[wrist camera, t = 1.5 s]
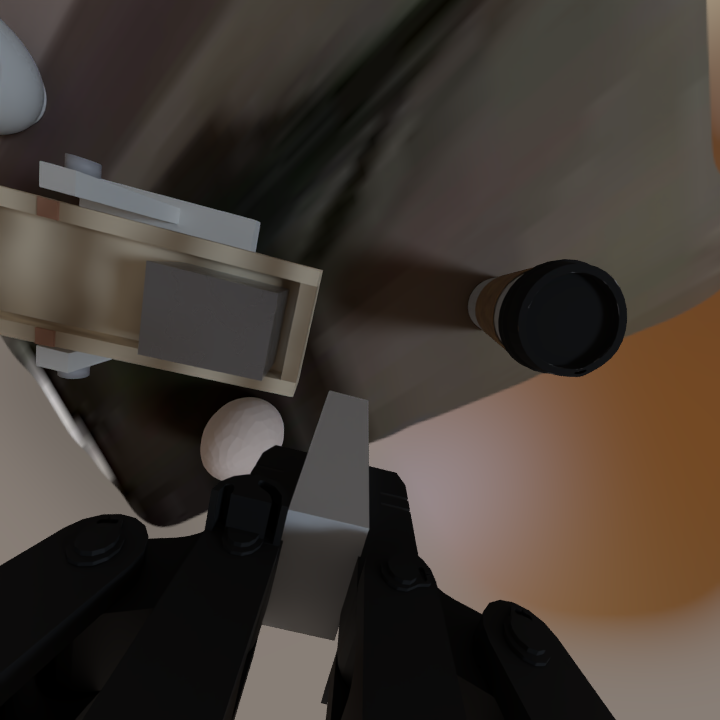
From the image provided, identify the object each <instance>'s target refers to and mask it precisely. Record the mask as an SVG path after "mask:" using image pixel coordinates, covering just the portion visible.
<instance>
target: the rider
mask: <svg viewBox="0 0 720 720" xmlns="http://www.w3.org/2000/svg"><path fill="white" fill-rule="evenodd" d="M289 290H290V289H287V288H283V287H279V286H275V285H271V284H267V283H264V282H260V281H256V280H252V279H248V278H244V277H240V276H236V275H232V274H228V273H224V272H220V271H216V270H212V269H208V268H204V267H200V266H196V265H192V264H188V263H184V262H166V261H146V271H145V282H144V292H143V303H142V313H141V324H140V334H139V345H138V355H143V356H148V357H152V358H157V359H161V360H166V361H171V362H175V363H180V364H185V365H189V366H194V367H199V368H203V369H208V370H212V371H217V372H222V373H226V374H231V375H236V376H240V377H245V378H249V379H254V380H259V381H262V380H263V379H264V377H265V376H266V374H267V373H268V371H269V370H270V368H271V367H272V365H273V364H274V363H275V360H276V355H277V350H278V345H279V340H280V335H281V330H282V325H283V320H284V315H285V310H286V305H287V300H288V295H289Z"/></svg>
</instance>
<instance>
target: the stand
mask: <svg viewBox="0 0 720 720" xmlns="http://www.w3.org/2000/svg"><path fill="white" fill-rule="evenodd" d="M101 168H102V165H100V164H98V163H96V162H93V161H90V160H87V159H84V158H81V157H78V156H75V155H71V154H67V153H65V167H61V166H57V165H54V164H50V163H46V162H42V161H40V169H39V187H42V188H46V189H50V190H53V191H57V192H61V193H64V194H68V195H71V196H75V197H79V198H80V200H79V206H81V207H85V208H88V209H92V210H96V211H100V212H104V213H107V214H111V215H115V216H119V217H123V218H126V219H130V220H134V221H138V222H142V223H145V224H149V225H153V226H157V227H161V228H164V229H168V230H172V231H176V232H180V233H183V234H187V235H191V236H195V237H199V238H202V239H206V240H210V241H214V242H218V243H221V244H225V245H229V246H233V247H237V248H240V249H244V250H248V251H252V252H256V246H257V240H258V234H259V229H260V222H258V221H256V220H253V219H249V218H245V217H242V216H238V215H234V214H230V213H227V212H223V211H219V210H215V209H212V208H208V207H204V206H201V205H197V204H193V203H189V202H186V201H182V200H178V199H174V198H171V197H167V196H163V195H160V194H156V193H152V192H148V191H145V190H141V189H137V188H133V187H130V186H126V185H122V184H119V183H115V182H111V181H107V180H104V179H101ZM107 360H111V358H106V357H101V356H97V355H92V354H87V353H83V352H78V351H73V350H68V349H64V348H59V347H49V346H44V345H36V366H40V367H44V368H49V369H53V370H57V371H58V376H60V377H63V378H68V379H79V378H85V377H87V376H89V372H90V366H92V365H95V364H98V363H101V362H104V361H107Z"/></svg>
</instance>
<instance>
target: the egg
mask: <svg viewBox="0 0 720 720" xmlns="http://www.w3.org/2000/svg"><path fill="white" fill-rule="evenodd" d="M283 437H284V424H283V421H282V418H281V416H280V414H279V412H278V411H277V409H276V408H275V407H274V406H273V405H271V404H270V403H269V402H267V401H265V400H263V399H259V398H255V397H245V398H239V399H236V400H233V401H231V402H229V403H227V404H226V405H224V406H223V407H221V408H220V409H219V410H218V411H217V412H216V413H215V414H214V415H213V416H212V417H211V419H210V420H209V422H208V423H207V425H206V427H205V429H204V432H203V435H202V440H201V458H202V462H203V465H204V467H205V468H206V470H207V471H208V472H209V473H210V474H211V475H212V476H213V477H215V478H217V479H219V480H225V479H227V478H230V477H232V476H237V475H245V474H250V473H251V471H252V470H253V468H254V466H256V463H257V461H258V460H259V458H260V456H261V455H262V453H263V452H264V451H266V450H268V449H270V448H271V447H273V446H275V445H278V446H281V445H282V443H283Z"/></svg>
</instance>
